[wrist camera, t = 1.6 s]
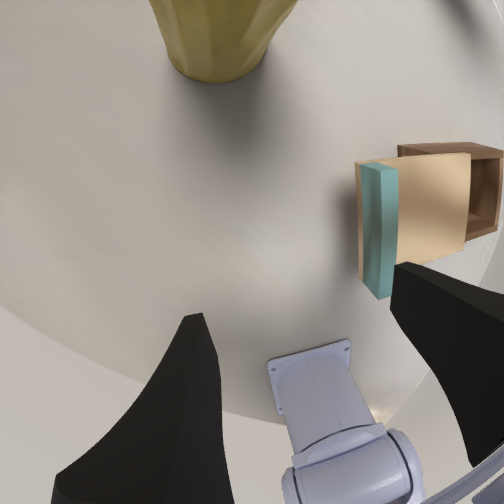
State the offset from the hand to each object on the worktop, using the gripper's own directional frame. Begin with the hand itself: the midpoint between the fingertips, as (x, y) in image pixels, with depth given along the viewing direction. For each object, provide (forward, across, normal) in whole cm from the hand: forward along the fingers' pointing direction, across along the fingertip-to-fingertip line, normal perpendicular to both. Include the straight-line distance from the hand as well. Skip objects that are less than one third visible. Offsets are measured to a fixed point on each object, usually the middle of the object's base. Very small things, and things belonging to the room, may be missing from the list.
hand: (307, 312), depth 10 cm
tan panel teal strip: (+6, -9, 0) cm, 11 cm away
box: (+10, -16, 0) cm, 19 cm away
